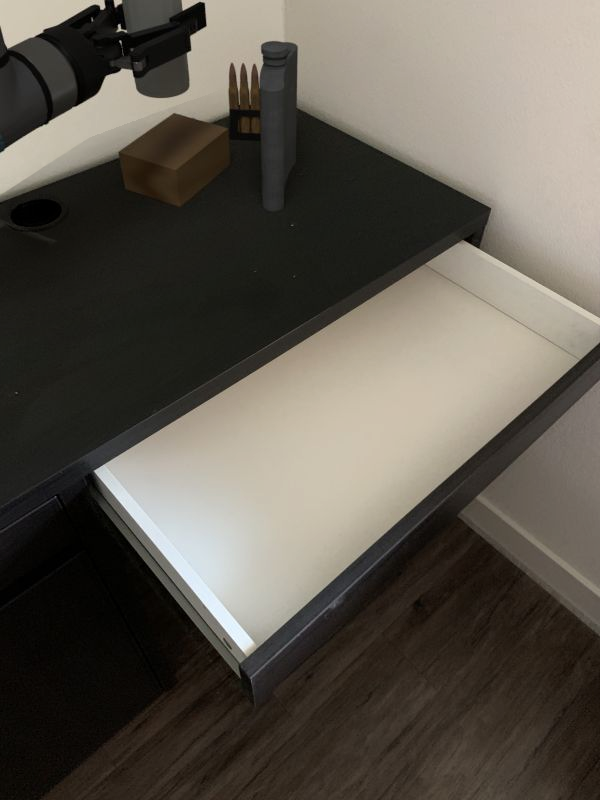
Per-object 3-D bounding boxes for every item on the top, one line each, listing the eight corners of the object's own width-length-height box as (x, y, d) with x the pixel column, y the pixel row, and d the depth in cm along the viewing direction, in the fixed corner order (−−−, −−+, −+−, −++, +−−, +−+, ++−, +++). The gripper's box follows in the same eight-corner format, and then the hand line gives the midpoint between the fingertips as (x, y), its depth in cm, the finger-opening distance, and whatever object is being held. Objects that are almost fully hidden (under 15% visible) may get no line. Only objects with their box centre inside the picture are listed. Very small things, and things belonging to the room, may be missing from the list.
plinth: (125, 189, 100) (118, 151, 95) (178, 148, 108) (173, 112, 104) (180, 207, 97) (175, 169, 93) (230, 164, 105) (228, 128, 101)
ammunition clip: (229, 139, 111) (225, 64, 102) (230, 133, 112) (226, 59, 103) (293, 142, 111) (294, 67, 101) (293, 136, 112) (295, 62, 103)
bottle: (125, 90, 86) (98, -64, 74) (157, 70, 91) (137, -79, 78) (169, 103, 84) (149, -54, 72) (200, 82, 88) (186, -69, 76)
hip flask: (282, 212, 97) (282, 71, 82) (254, 210, 97) (250, 69, 82) (297, 157, 107) (299, 23, 92) (272, 155, 107) (270, 21, 92)
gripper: (-5, 87, 77) (120, 24, 90) (133, 131, 71) (246, 55, 84) (-28, 16, 71) (110, -40, 84) (121, 57, 65) (243, -11, 79)
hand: (177, 8), depth 84 cm, fingers closed on bottle, 7 cm apart
